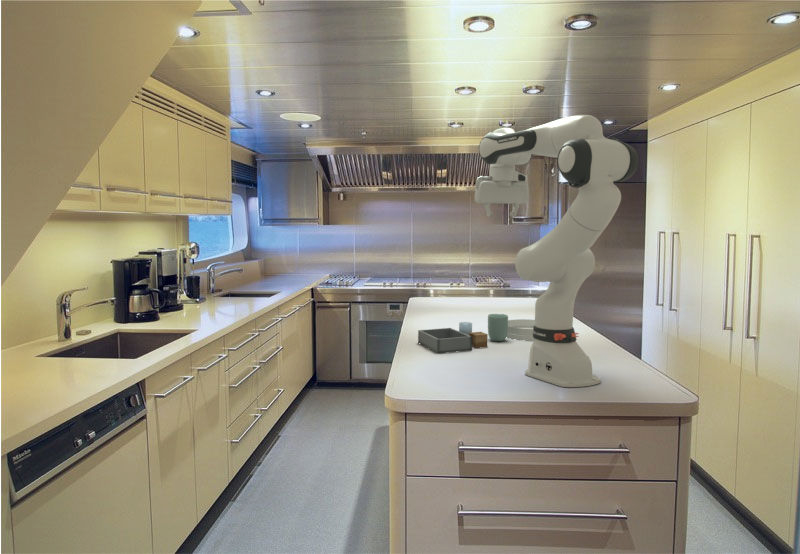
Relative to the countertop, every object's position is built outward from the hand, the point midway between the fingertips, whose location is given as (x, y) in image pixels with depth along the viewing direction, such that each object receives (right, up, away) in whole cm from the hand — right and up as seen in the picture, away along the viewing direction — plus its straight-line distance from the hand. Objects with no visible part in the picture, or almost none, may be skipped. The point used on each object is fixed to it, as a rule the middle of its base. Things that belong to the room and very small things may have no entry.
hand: (501, 216), depth 185 cm
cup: (+2, -46, +21) cm, 51 cm away
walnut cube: (-7, -47, +11) cm, 49 cm away
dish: (+17, -46, +31) cm, 57 cm away
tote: (-19, -47, +11) cm, 52 cm away
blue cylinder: (-10, -46, +20) cm, 51 cm away
